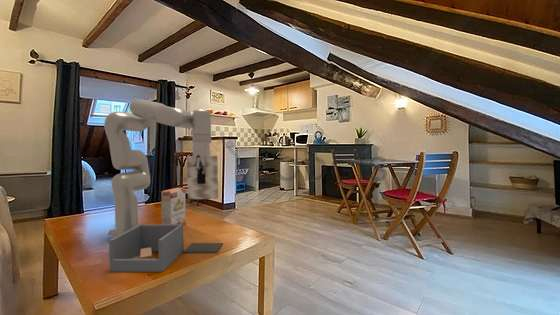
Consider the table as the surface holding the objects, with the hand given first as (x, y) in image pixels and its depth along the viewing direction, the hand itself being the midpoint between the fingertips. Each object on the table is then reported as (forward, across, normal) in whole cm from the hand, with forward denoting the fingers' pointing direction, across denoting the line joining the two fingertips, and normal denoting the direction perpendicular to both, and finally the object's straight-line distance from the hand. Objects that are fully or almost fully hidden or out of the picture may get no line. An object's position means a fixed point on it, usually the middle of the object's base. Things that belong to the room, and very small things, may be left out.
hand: (202, 182), depth 111 cm
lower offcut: (+29, +15, -17) cm, 37 cm away
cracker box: (+28, -31, -26) cm, 49 cm away
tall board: (+7, 0, 0) cm, 7 cm away
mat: (+28, 0, 0) cm, 28 cm away
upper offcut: (+26, +15, -17) cm, 35 cm away
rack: (+28, +12, -17) cm, 35 cm away
